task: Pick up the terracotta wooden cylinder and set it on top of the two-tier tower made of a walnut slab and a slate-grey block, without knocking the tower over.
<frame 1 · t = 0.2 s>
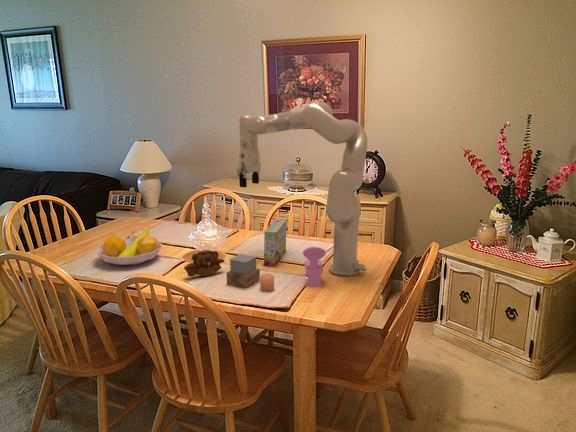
hand: (249, 185, 205), 31 cm above the table, tool pointing down, fingers open, 9 cm apart
purple upright piece: (313, 282, 182), on the table
slate block: (243, 270, 180), point 5 cm above the table, touching walnut slab
terracotta cylinder: (267, 289, 175), on the table
wooden carving: (205, 275, 188), on the table
snack box: (275, 258, 208), on the table
walnut slab: (243, 283, 181), on the table, touching slate block
fruit bowl: (132, 259, 205), on the table
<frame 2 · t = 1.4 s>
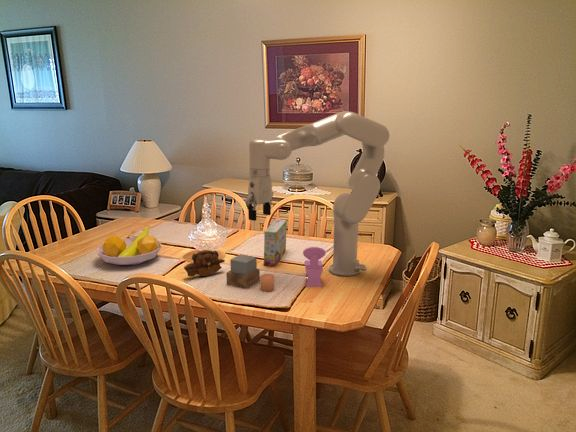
hand: (259, 217, 182), 24 cm above the table, tool pointing down, fingers open, 9 cm apart
nothing on the table moved.
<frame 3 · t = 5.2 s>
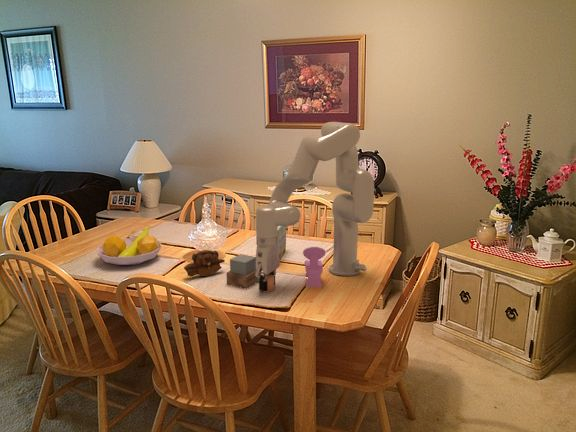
hand: (267, 287, 175), 1 cm above the table, tool pointing down, fingers closed on terracotta cylinder, 4 cm apart
terracotta cylinder: (267, 289, 175), on the table, touching gripper
everything else where it was.
when the fingers open (12 cm above the table, at t = 9.9 s): terracotta cylinder drops 2 cm, point 10 cm above the table.
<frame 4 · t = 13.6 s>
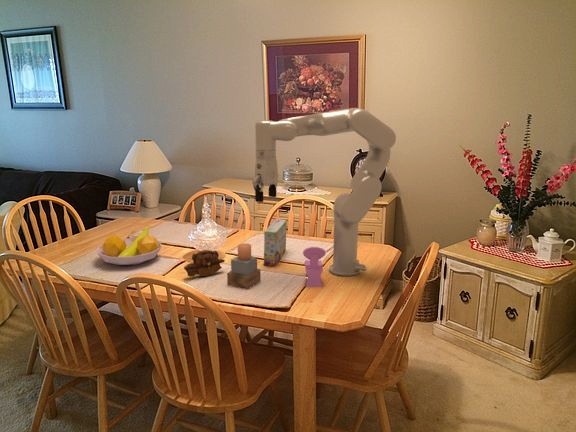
hand: (266, 199, 182), 30 cm above the table, tool pointing down, fingers open, 9 cm apart
slate block: (244, 271, 179), point 5 cm above the table
terracotta cylinder: (244, 258, 178), point 10 cm above the table
walnut slab: (244, 283, 181), on the table
everything else where it was.
at the end: terracotta cylinder 0.2 cm off-centre on the slate block, point 5.0 cm above the slate block's base; slate block 0.1 cm off-centre on the walnut slab, point 5.0 cm above the walnut slab's base; the gripper is holding nothing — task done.
